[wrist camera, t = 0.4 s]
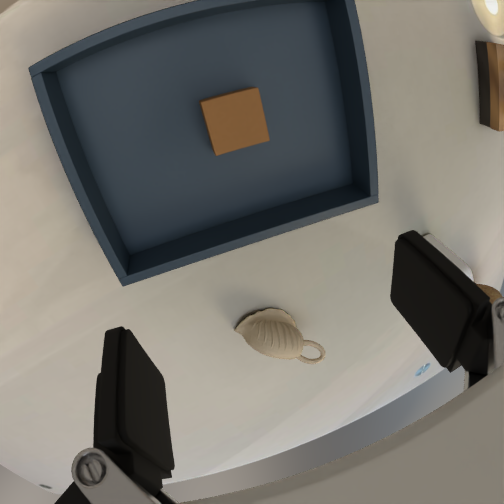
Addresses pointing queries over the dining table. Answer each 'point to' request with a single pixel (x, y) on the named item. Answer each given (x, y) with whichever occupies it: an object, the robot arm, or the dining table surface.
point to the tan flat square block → (234, 120)
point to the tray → (195, 133)
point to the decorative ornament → (276, 335)
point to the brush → (491, 84)
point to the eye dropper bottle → (450, 255)
